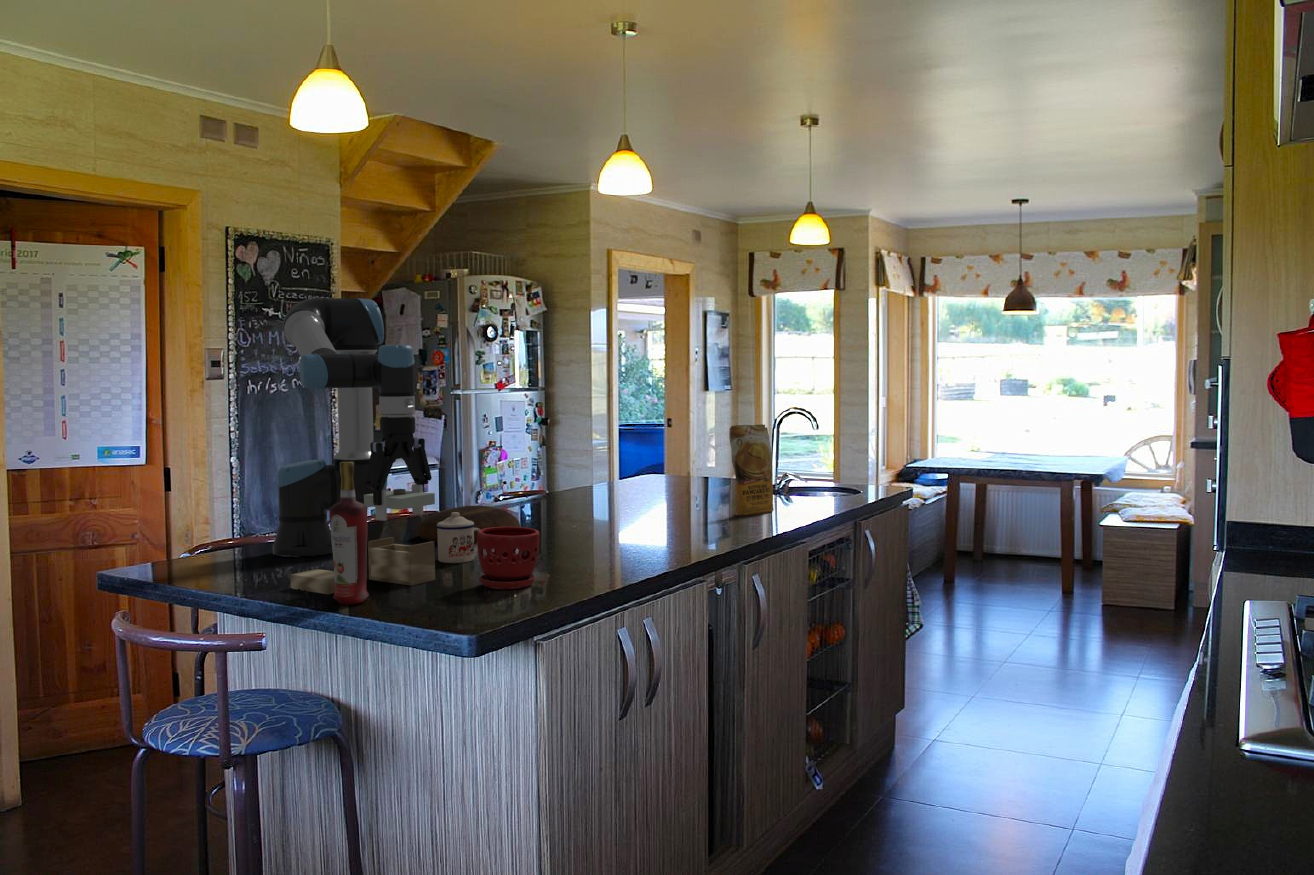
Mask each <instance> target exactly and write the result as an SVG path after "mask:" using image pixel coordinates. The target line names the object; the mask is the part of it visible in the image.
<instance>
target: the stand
mask: <svg viewBox="0 0 1314 875" xmlns="http://www.w3.org/2000/svg"><path fill="white" fill-rule="evenodd" d="M289 577H290V589H291V588H292V590H298V589H300V590H299V591H304V590H305V592H311V593H318V594H324V595H331V594H335V577H334V570H328V569H327V570H326V569H321V568H320V569H319V568H316V569H311V570H306V571H301V572H300V571H299V572H297V573H290V574H289Z"/></svg>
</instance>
